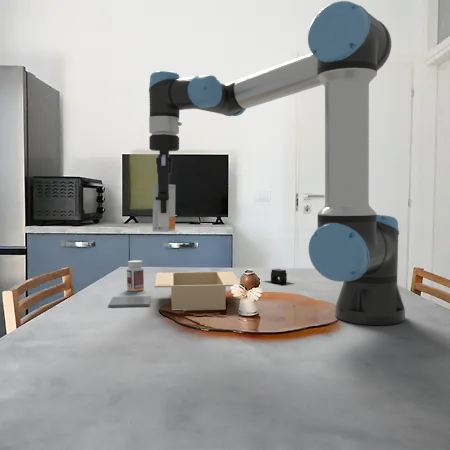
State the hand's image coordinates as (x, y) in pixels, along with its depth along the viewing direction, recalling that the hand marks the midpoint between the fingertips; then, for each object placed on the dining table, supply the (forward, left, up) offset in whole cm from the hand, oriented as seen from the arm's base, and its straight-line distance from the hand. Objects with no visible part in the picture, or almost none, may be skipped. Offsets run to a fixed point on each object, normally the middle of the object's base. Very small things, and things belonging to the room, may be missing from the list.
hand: (164, 225), depth 136 cm
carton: (0, -8, -20) cm, 21 cm away
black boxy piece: (+25, -35, -21) cm, 48 cm away
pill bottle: (+18, +9, -20) cm, 28 cm away
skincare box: (0, 0, -2) cm, 2 cm away
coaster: (0, +9, -20) cm, 22 cm away
